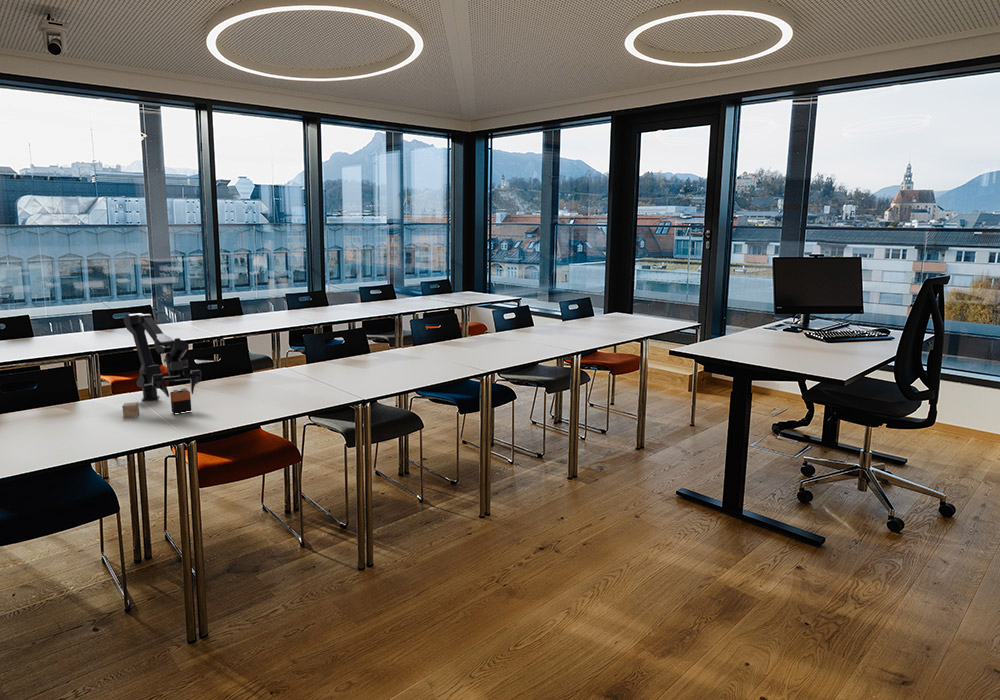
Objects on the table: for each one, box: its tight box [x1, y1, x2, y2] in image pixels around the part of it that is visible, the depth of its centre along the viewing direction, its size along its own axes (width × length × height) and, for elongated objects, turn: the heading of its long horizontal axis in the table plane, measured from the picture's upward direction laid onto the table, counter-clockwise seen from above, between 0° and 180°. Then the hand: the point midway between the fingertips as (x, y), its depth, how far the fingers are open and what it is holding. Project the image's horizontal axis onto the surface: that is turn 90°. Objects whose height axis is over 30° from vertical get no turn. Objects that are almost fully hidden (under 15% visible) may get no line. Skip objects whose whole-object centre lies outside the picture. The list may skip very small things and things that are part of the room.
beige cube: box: [122, 401, 140, 419], centre depth 278 cm, size 5×5×5 cm
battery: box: [169, 387, 192, 415], centre depth 283 cm, size 4×7×10 cm, turn 131°
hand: (180, 395), depth 282 cm, fingers open, 9 cm apart
